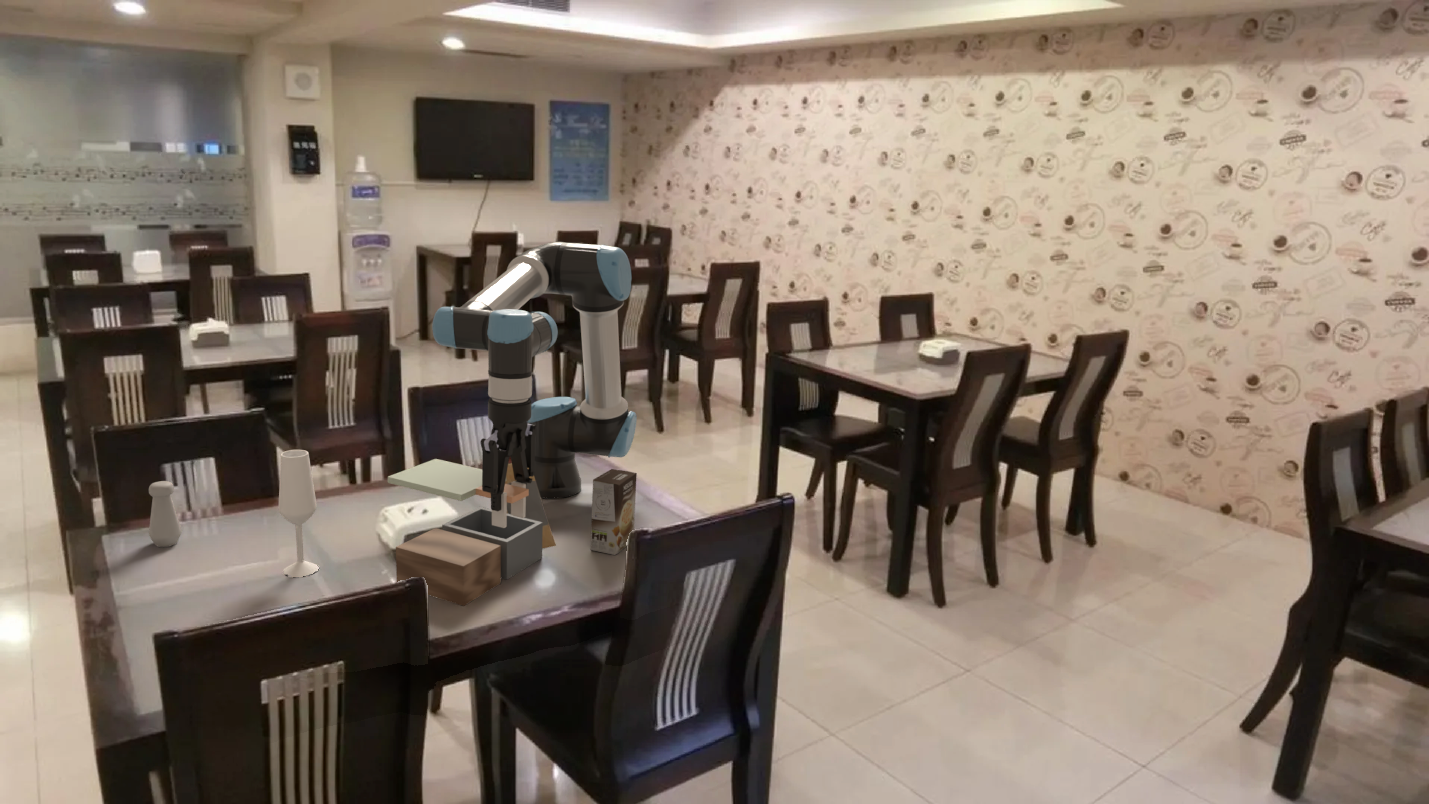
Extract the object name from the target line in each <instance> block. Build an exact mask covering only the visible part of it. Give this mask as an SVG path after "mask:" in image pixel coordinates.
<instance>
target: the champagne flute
mask: <svg viewBox="0 0 1429 804" xmlns="http://www.w3.org/2000/svg"><path fill="white" fill-rule="evenodd" d="M279 467H280V468H279V469H280V470H279V471H280V472H279V487H278V489H279V491H278V492H279V493H278V494H279V495H278V513H279V514H280V516H282V517H283V519H285V520H286V521H287V522H289V523H291V524H292V525H294V526H295V542H296V545H295V546H296V559H297V560H296V561H295V562H294V563H292V564H290V565H288V566H286V567H284V568H283V570H282V572H283V571H284V574H288V575H291V576H292V577H291V578H293V577H299V578H304V577H303V576H306V575H309V574H313V573H314V572H315V571H318V569H319V567H320V566H319V565H318V564H316V563H313V562H311V561H307V560H305V557H304V556H305V555H304V554H305V553H304V539H303V537H304V535H303V524H304V523H306V522H307V521H308V520H309V519H310V518H312V516H313V515H315V512H316V511H317V508H318V506H317V498H316V493H315V486H314V480H313V479H314V478H313V472H312V468H311V460H310V454H309V451H307V450H304V449H290V450H286V451H282V452H281V454H280V465H279ZM317 565H318V566H319V567H318V566H317ZM319 570H320V569H319ZM318 572H319V571H318ZM284 574H283V575H284ZM313 575H314V574H313ZM306 577H307V576H306Z"/></svg>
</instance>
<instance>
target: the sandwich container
mask: <svg viewBox="0 0 1429 804" xmlns="http://www.w3.org/2000/svg"><path fill="white" fill-rule="evenodd" d="M527 469H529V468H527ZM529 478H532V482H531V483H527V489H529V495H528V496H526V513H525V517H524V518H527V519H531V520H535V521H539V522H543V535H542V550H544V549H547V548H553V547H556V546H557V543H556V541H555V538H554V535H553V533H552V529H551V525H550V522H549V520H548V516H547V512H546V510H545V507H544V505H543V501H542V498H541V497H540V494H539V490H538V487H537V484H536V481H535V477H534V476H533V477H531V476H530V477H529ZM513 481H516V480H515V479H514V473H513V467H512V462H511V463H509V462H508V468H507V474H506V481H505V484H509V485H511V482H513ZM507 514H511V503H508V502H507Z"/></svg>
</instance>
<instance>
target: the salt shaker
mask: <svg viewBox="0 0 1429 804" xmlns="http://www.w3.org/2000/svg"><path fill="white" fill-rule="evenodd" d="M174 492H175V487H174V484H173V483H172V482H171V481H168V480H161V481H155V482H152V483H150V485H149V487H148V494H149V495H150V496H151V497H152V502H151V509H150V519H149V520H150V521H149V528H148V536H149V538H150V539H151V541H152V543H153V545H155V546H157V547H158V548H163V547H164V548H167V547H171V546H173V545H177V544H178V541H179V539H180V537H181V535H182V532H183V529H182V526H181V522H180V520H179V517H178V515H177V511H176V508H175V504H174V501H173V498H172V494H173V493H174Z"/></svg>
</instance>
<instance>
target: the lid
mask: <svg viewBox="0 0 1429 804" xmlns="http://www.w3.org/2000/svg"><path fill="white" fill-rule="evenodd" d="M505 481H506V480H505ZM387 483H388V484H392V485H395V486H399V487H402V488H403V487H404V488H406V489H410V490H415V491H420V492H423V493H427V494H431V495H435V496H440V497H443V498H446V499H451V500H456V501H459V502H463V501H464V500H467V499H469V498H472V497H474V496H480V497H483V498H484V497H485V498H488V499H491V493H489V492H484V491H483V490H482V468H476V467H473V466H469V465H465V464H460V463H456V462H451V461H449V460H448V461H446V460H443V459H437V458H434V459H431V460H428V461H425V462H423V463H421V464H418V465H416V466H413V467H410V468H408V469H404V470H402V471H399V472H397V473H394V474H391V475H388V476H387ZM504 492H506V493H507V502H508V503H514V502H516V501H518V500H520V499H522V498H524V497H526V496H528V495H529V489H526V488H521V487H517V486H513V485H509V484H505V486H504Z"/></svg>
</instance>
